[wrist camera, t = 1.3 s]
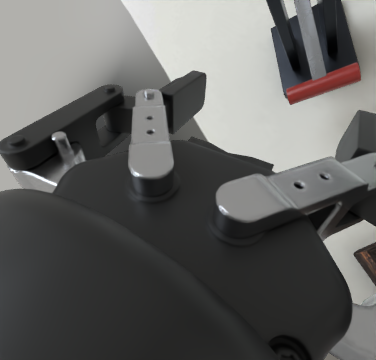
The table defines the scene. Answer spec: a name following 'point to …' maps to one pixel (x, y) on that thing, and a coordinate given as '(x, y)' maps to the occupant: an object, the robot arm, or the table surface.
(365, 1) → the table surface
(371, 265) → the hardcover book
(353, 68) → the lever
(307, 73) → the bracket
